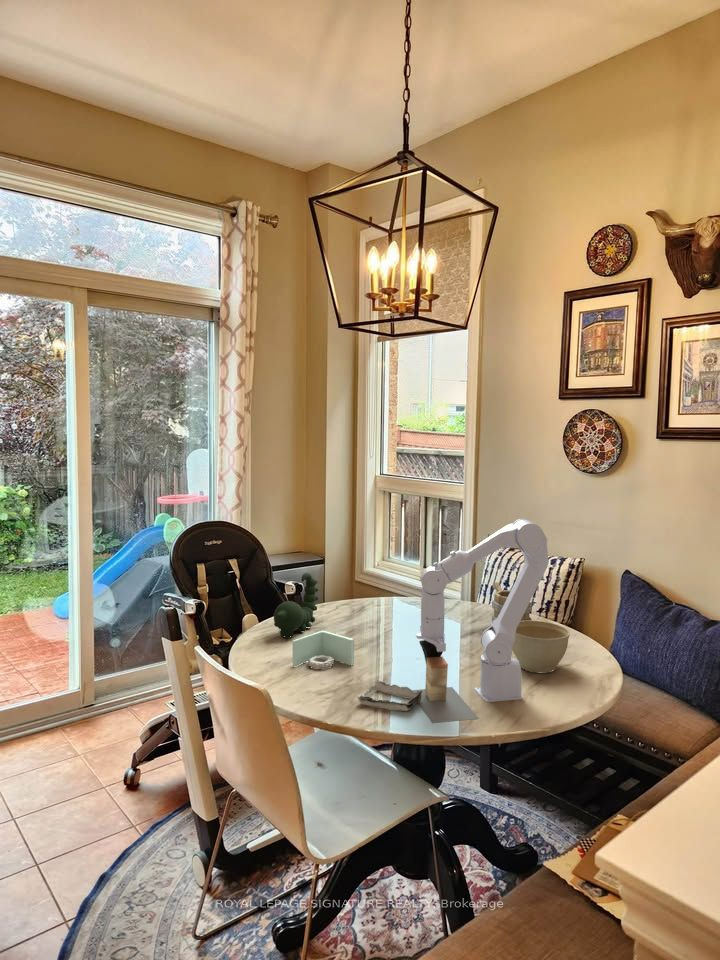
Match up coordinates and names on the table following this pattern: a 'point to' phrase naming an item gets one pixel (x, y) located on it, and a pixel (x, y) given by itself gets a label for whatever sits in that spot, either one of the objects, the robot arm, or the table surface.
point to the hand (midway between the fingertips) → (432, 670)
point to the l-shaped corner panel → (323, 650)
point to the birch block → (436, 678)
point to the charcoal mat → (446, 707)
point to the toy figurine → (297, 610)
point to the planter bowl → (540, 645)
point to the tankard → (500, 600)
